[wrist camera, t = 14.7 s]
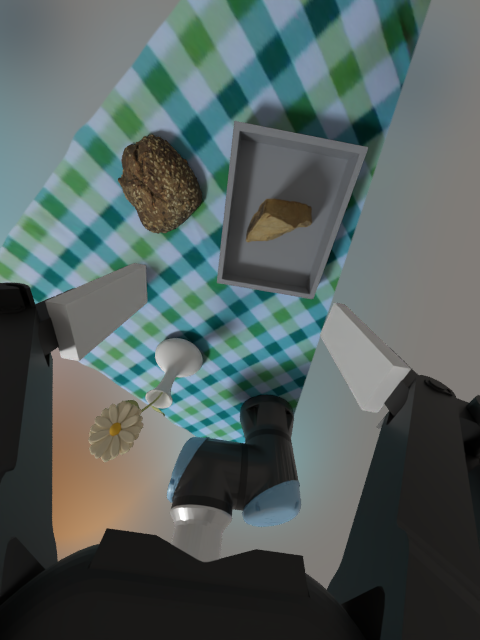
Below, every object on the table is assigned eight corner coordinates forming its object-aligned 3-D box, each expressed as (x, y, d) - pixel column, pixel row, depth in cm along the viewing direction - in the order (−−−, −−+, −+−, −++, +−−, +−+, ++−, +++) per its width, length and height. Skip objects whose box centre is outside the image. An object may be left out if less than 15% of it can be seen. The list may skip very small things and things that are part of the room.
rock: (331, 192, 30) (270, 163, 28) (334, 235, 26) (264, 207, 24) (292, 242, 40) (244, 224, 37) (290, 278, 36) (237, 261, 34)
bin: (307, 290, 41) (313, 299, 37) (220, 275, 40) (216, 282, 36) (353, 155, 30) (368, 147, 26) (236, 132, 30) (234, 120, 26)
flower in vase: (208, 341, 48) (172, 453, 26) (199, 375, 53) (162, 491, 32) (153, 326, 47) (67, 430, 25) (149, 362, 52) (75, 474, 30)
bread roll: (212, 206, 35) (206, 205, 30) (156, 241, 38) (143, 245, 34) (166, 117, 30) (151, 101, 25) (106, 167, 33) (83, 160, 28)
